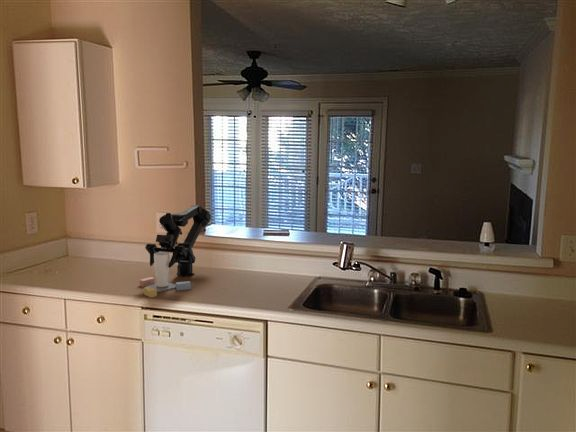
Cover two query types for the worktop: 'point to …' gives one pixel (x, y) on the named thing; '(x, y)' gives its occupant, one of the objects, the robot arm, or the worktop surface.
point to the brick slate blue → (183, 285)
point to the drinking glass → (162, 268)
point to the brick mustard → (150, 291)
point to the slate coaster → (161, 289)
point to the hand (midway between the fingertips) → (159, 266)
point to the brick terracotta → (147, 281)
